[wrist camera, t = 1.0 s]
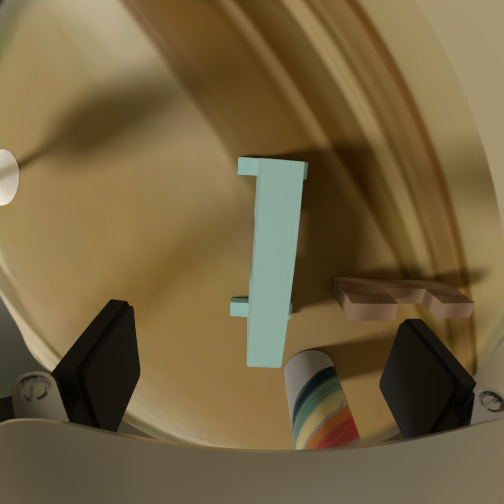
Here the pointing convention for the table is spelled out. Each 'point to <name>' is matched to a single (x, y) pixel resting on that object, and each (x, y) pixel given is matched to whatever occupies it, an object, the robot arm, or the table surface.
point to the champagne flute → (8, 176)
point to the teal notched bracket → (271, 257)
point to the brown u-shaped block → (398, 298)
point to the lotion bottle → (318, 403)
